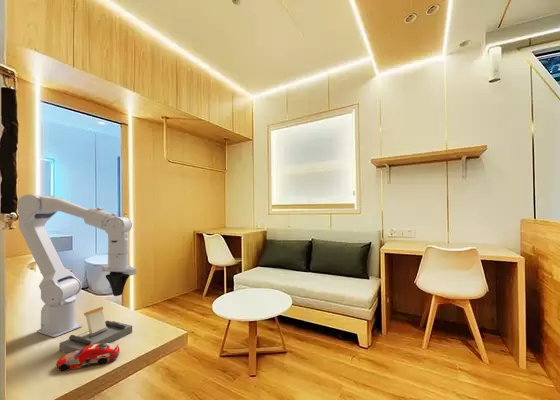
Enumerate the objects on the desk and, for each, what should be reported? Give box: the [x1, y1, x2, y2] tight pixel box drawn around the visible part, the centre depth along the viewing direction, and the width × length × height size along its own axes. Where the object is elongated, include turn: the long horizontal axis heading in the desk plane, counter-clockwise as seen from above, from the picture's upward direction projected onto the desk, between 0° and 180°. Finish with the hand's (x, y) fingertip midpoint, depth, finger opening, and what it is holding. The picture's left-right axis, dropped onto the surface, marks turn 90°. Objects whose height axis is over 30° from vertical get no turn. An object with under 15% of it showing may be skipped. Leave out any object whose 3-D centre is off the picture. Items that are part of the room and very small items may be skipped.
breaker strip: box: [59, 320, 133, 354], centre depth 77 cm, size 9×15×3 cm, turn 157°
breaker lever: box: [83, 306, 108, 337], centre depth 77 cm, size 2×5×7 cm, turn 158°
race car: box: [55, 343, 121, 373], centre depth 66 cm, size 13×5×4 cm, turn 108°
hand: (117, 295), depth 85 cm, fingers closed
